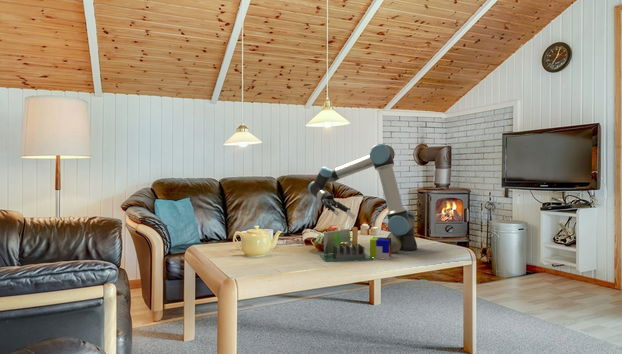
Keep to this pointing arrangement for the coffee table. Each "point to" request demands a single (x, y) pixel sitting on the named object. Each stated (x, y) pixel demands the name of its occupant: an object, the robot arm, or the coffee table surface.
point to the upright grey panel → (335, 239)
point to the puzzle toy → (380, 247)
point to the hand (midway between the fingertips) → (346, 215)
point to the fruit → (394, 243)
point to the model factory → (348, 251)
